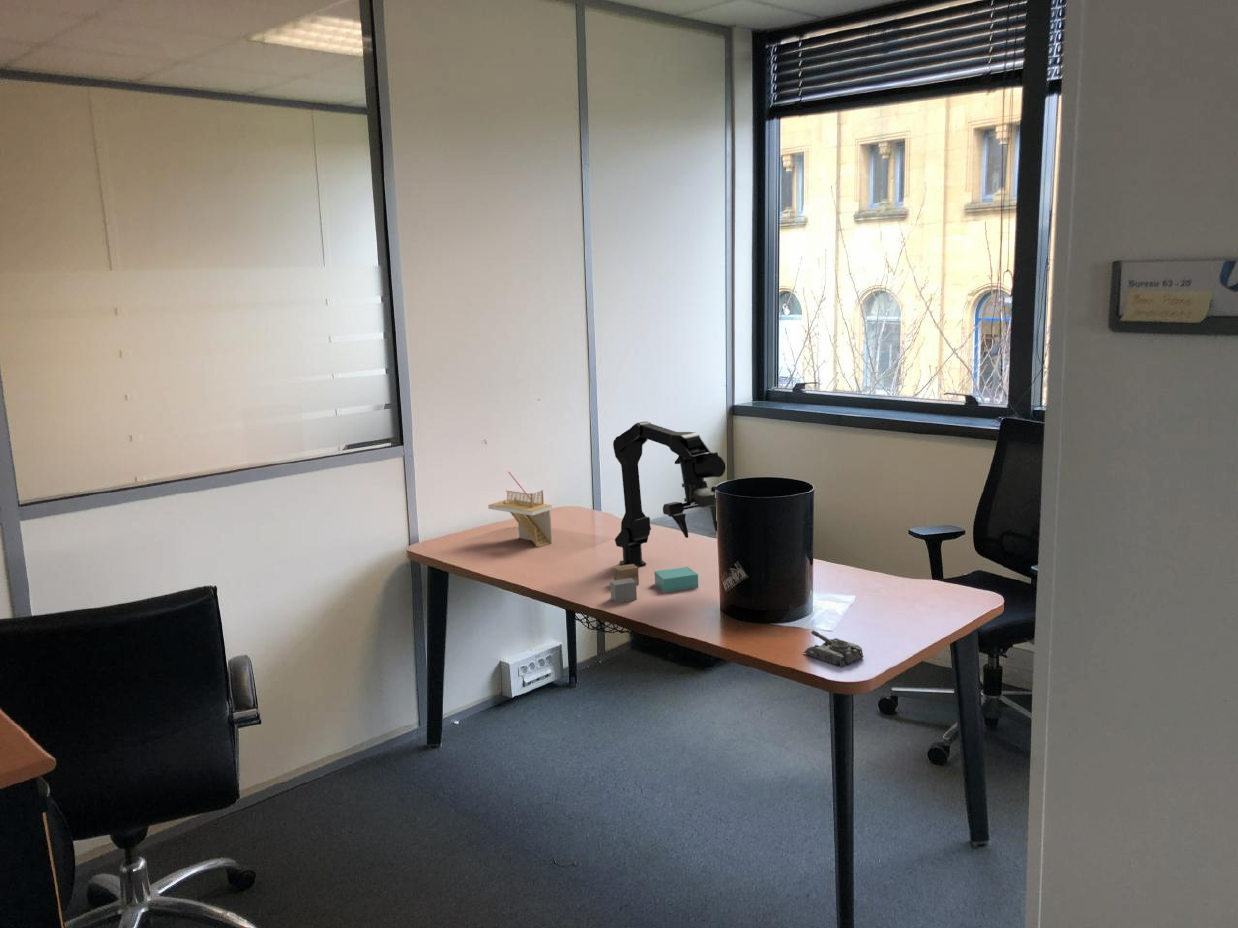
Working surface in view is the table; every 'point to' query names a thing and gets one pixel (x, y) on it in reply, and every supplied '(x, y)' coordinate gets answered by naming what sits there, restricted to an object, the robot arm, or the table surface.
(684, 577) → the teal brick
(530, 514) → the architectural model
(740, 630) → the table surface
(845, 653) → the tank toy
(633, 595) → the charcoal brick
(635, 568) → the walnut brick
